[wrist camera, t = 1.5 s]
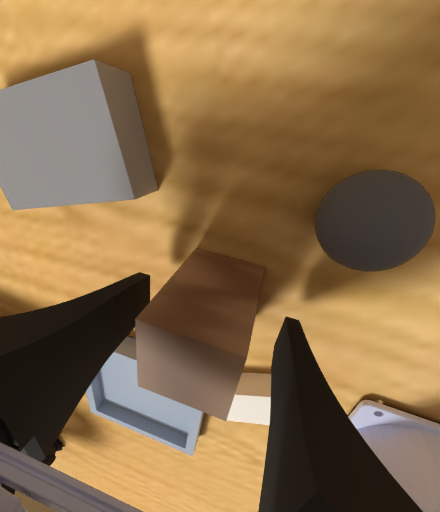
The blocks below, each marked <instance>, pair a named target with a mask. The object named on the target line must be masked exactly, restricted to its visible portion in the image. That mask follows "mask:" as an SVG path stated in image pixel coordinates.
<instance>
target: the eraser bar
mask: <svg viewBox="0 0 440 512" xmlns="http://www.w3.org/2000/svg"><path fill="white" fill-rule="evenodd" d="M270 405H271V374H267V373H242V374H241V377H240V380H239V383H238V386H237V389H236V392H235V395H234V399H233V402H232V405H231V408H230V411H229V414H228V417H227V420H228V421H237V422H246V423H255V424H264V425H270ZM221 420H222V419H221Z"/></svg>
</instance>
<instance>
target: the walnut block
mask: <svg viewBox="0 0 440 512" xmlns="http://www.w3.org/2000/svg"><path fill="white" fill-rule="evenodd" d="M264 272H265V267H264V266H260V265H256V264H253V263H249V262H245V261H242V260H238V259H234V258H231V257H227V256H224V255H220V254H216V253H213V252H209V251H205V250H202V249H198V248H196V249H195V250H194V251H193V253H192V254H191V255H190V256H189V257H188V258H187V260H186V261H185V262H184V263H183V264H182V265H181V267H180V268H179V269H178V270H177V271H176V272H175V274H174V275H173V276H172V277H171V278H170V279H169V280H168V282H167V283H166V284H165V285H164V286H163V287H162V289H161V290H160V291H159V292H158V293H157V294H156V296H155V297H154V298H153V299H152V300H151V301H150V302H149V304H148V305H147V306H146V307H145V308H144V309H143V311H142V312H141V313H140V314H139V315H138V316H137V318H136V319H135V328H136V354H137V380H138V386H139V387H141V388H144V389H146V390H149V391H151V392H154V393H156V394H159V395H161V396H164V397H167V398H169V399H172V400H174V401H177V402H179V403H182V404H184V405H187V406H189V407H192V408H194V409H197V410H199V411H202V412H204V413H207V414H209V415H212V416H214V417H217V418H219V419H222V420H225V421H226V420H227V417H228V414H229V411H230V408H231V405H232V402H233V399H234V395H235V392H236V389H237V386H238V383H239V380H240V377H241V374H242V371H243V368H244V365H245V362H246V359H247V354H248V350H249V345H250V340H251V335H252V330H253V325H254V321H255V316H256V311H257V306H258V301H259V296H260V292H261V287H262V282H263V277H264Z"/></svg>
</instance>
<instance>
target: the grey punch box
mask: <svg viewBox="0 0 440 512" xmlns="http://www.w3.org/2000/svg"><path fill="white" fill-rule="evenodd" d="M0 187H1V189H2V191H3V193H4V195H5V196H6V198H7V200H8V202H9V204H10V206H11V208H12V210H20V209H32V208H43V207H54V206H66V205H77V204H88V203H100V202H111V201H122V200H134V199H137V198H140V197H142V196H145V195H147V194H149V193H152V192H154V191H157V190H158V186H157V182H156V177H155V173H154V169H153V165H152V161H151V157H150V153H149V148H148V144H147V140H146V136H145V132H144V128H143V124H142V119H141V115H140V111H139V107H138V103H137V99H136V95H135V90H134V86H133V82H132V78H131V74H130V73H129V72H126V71H124V70H121V69H118V68H116V67H113V66H111V65H108V64H105V63H103V62H100V61H98V60H95V59H93V60H90V61H87V62H84V63H81V64H78V65H74V66H71V67H68V68H65V69H62V70H59V71H56V72H53V73H50V74H47V75H44V76H41V77H38V78H35V79H31V80H28V81H25V82H22V83H19V84H16V85H13V86H10V87H7V88H4V89H1V90H0Z"/></svg>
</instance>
